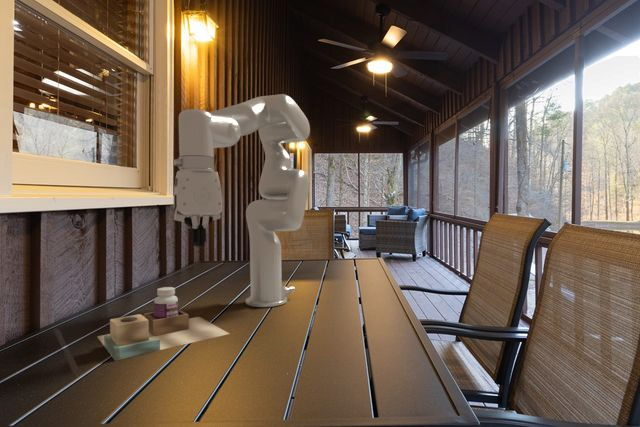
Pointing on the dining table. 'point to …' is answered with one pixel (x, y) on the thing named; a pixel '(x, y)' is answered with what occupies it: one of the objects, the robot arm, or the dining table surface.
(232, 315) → the dining table surface
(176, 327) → the walnut ring block
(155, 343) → the board
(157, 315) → the pill bottle
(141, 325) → the oak block
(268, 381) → the dining table surface
